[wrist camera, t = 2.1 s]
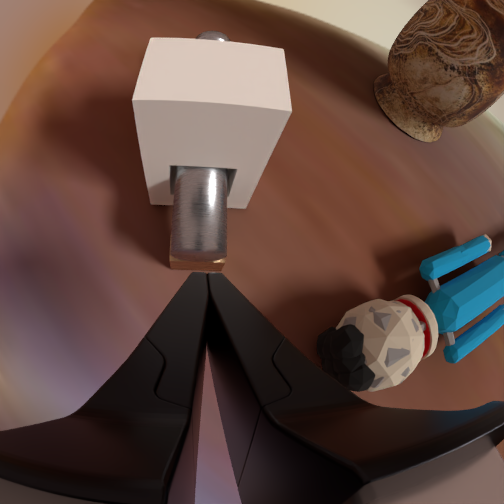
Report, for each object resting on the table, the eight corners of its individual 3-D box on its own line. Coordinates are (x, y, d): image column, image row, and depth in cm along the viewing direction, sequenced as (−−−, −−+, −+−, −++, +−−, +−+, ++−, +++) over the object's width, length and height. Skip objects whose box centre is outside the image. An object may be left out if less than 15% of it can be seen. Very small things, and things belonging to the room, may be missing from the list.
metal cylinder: (220, 270, 20) (232, 248, 15) (171, 269, 19) (166, 245, 14) (225, 77, 24) (235, 33, 19) (189, 74, 23) (193, 29, 19)
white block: (245, 208, 21) (291, 111, 12) (150, 204, 20) (132, 99, 10) (244, 155, 22) (283, 49, 13) (157, 150, 21) (150, 37, 11)
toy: (514, 218, 28) (290, 309, 20) (548, 201, 23) (327, 297, 15) (534, 282, 27) (326, 421, 19) (569, 270, 21) (370, 442, 13)
